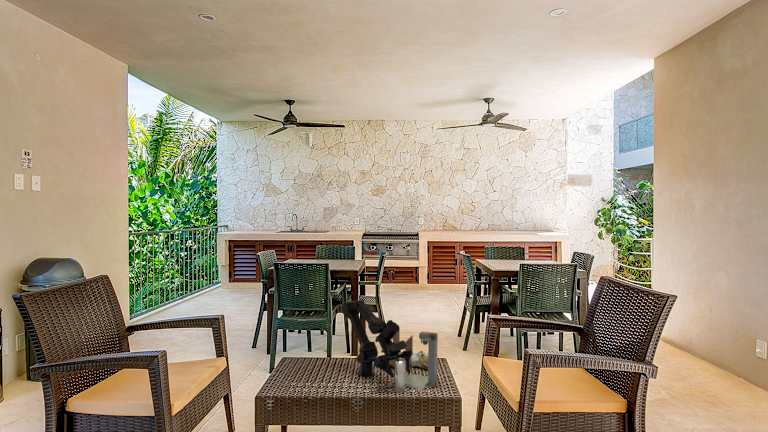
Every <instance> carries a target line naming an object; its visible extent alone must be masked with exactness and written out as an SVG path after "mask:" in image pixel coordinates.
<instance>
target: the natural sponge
mask: <svg viewBox="0 0 768 432" xmlns="http://www.w3.org/2000/svg"><path fill="white" fill-rule="evenodd" d="M400 351H401V352H400V353H398V354H401V353H402V352H403V351H402V350H400ZM389 365H390V367H393V368H395V360H393V361H389Z"/></svg>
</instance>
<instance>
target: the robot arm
mask: <svg viewBox="0 0 768 432" xmlns="http://www.w3.org/2000/svg"><path fill="white" fill-rule="evenodd" d="M341 310H342V313H343V315H344V316H345V317H346V318H347V319H349V320H350V323H351V325H352V328H353V330H354V333H355V337H356V338H357V341H358V344H359V348H358V355H357V356H356V357H355V358H356V362H357V363H358V364H360V371H359V372H357V374H358V375H360V376H361V377H362V378H367V377H371V376H376V373H375V372H374V371H373V369H374V367H375V368H378V369H379V370H381V371H383V372H385V373H386V374H387V375H388V376H390V377H391V378H394V379H395V373H394V372H393V370H392V368H391V367H392V366H391V365H390V364H389V361H393V360H396V359H398V358H399V357H401V358H402V359H403V360H405V361H406V373H407V374H408V375H409V374H412V373H411V372H412V371H411V363H409V360H410V358H411V356H412V355H413V353H414V352H413V353H412V351H411V350H406V349H404V347H406V343H405V342H406V340H404V339H403V340H400V341H399V343H393V338H394V337H395V335H396V334H397V333H398V331H399V330H400V329H401V328H400V325H399V324H398V323H396V322H394V321H393V320H392V319H389V320H387V321H386V322H385V320H384V319H382V317H377V316H376V314H374V312H372V310H371V309H370V308H369V306H368V305H366V303H365V301H364V300H362V299H361V300H360V299H358V300H353V301H344V302H343V303H342V305H341ZM360 315H361V316H362V317H363V319H364V320H365V322H366V323H367V324H368V325H367V327H368V329H369V331H370V333H371V334H373V335H376V337H375V339H374V341H370V340H369V337H368V335H367V331H366V330H365V326H364V325H363V322H362V320H361V317H360ZM376 343H378V344H379V345H380V347H381V350H380V351H381V353H383V354H381V355H379V351H378V347H377V345H376ZM400 350H401V351H400ZM402 350H403V351H402ZM400 352H402V353H401V354H398V353H400ZM373 365H374V367H373Z"/></svg>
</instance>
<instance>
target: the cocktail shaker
mask: <svg viewBox="0 0 768 432" xmlns="http://www.w3.org/2000/svg"><path fill="white" fill-rule="evenodd" d="M406 373H407V371H406V361H405V360H403V359H402V358H401V357H399V358H398V359H396V360H395V367H394V391H395V392H397V393H403V392H406V387H405V377H406V376H407V374H406Z"/></svg>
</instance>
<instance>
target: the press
mask: <svg viewBox="0 0 768 432" xmlns="http://www.w3.org/2000/svg"><path fill="white" fill-rule="evenodd" d="M418 338H419V340H420V344H423V345H424V346H426V345H427V346H428V348H427V349H428V351H427V352H428V353H427V354H428V369H427V372H428V373H427V374H428V375H427V376H425V375H421V374H413V373H410V374H409V373H408V375H406V377H405V388H412V389H417V390H418V389H419V390H424V389H426V388H427V387H430V388H431V387H432V388H435V387H436V386H437V385H438V363H437V362H438V333H436V332H429V331H420V332H419V333H418Z"/></svg>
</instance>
